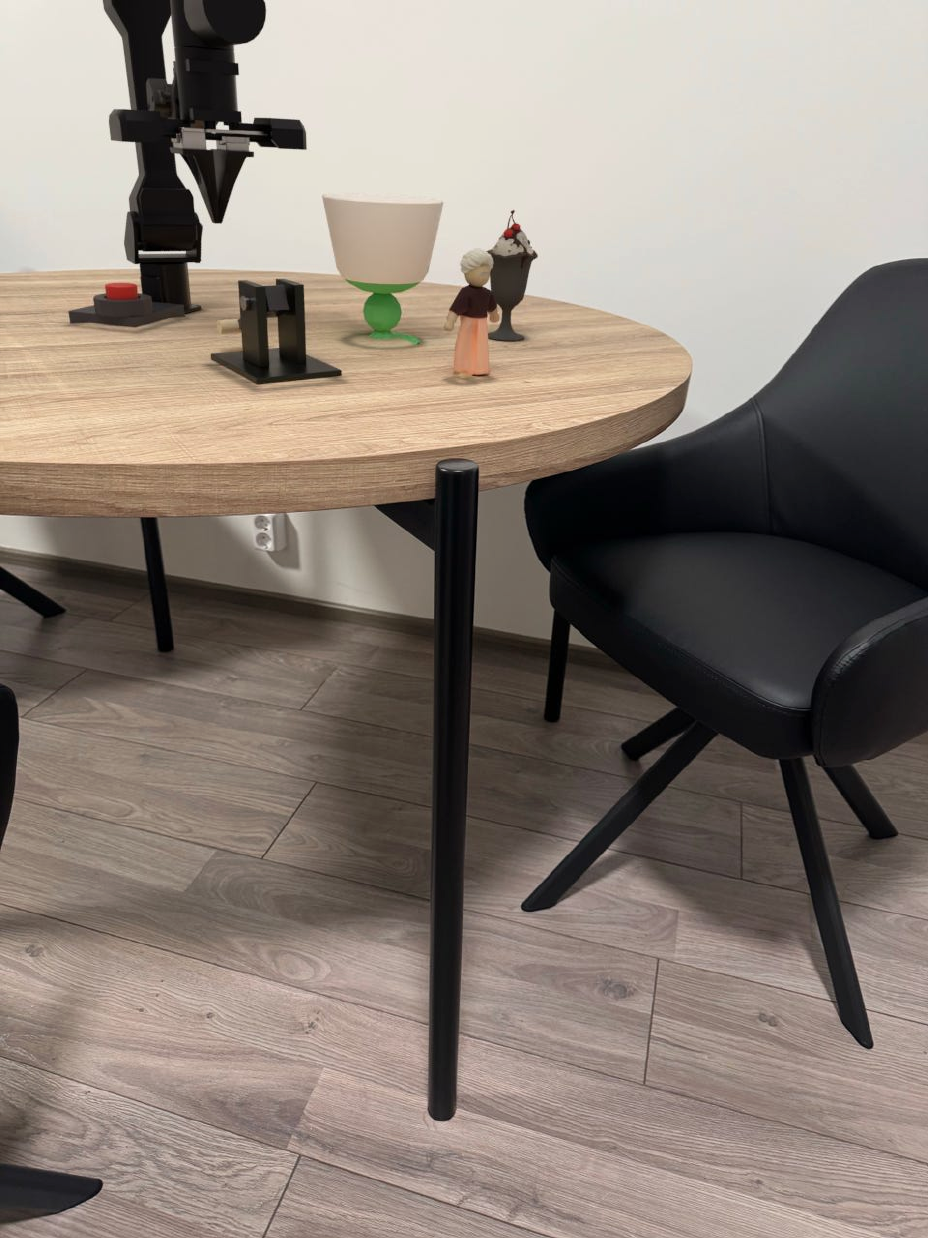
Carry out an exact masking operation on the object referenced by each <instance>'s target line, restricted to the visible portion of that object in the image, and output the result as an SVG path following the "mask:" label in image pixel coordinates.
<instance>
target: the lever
mask: <svg viewBox="0 0 928 1238" xmlns="http://www.w3.org/2000/svg"><path fill="white" fill-rule="evenodd" d="M264 286H265V291H266V310H267V319H271V318H273V319H274V318H278V317H280V316H281V315H283V314H284V313H285V312H287V311H288V310H289V305H288V300H287V295H286V291H285V286H284V285H276V284H274V285H264ZM216 330H217V333H218V334H219V335H229V334H230V335H231V334H233V335H234V334H241V319H240V317H239V318H229V319H218V320H217V321H216Z"/></svg>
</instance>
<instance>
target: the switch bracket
mask: <svg viewBox="0 0 928 1238" xmlns="http://www.w3.org/2000/svg"><path fill="white" fill-rule="evenodd" d="M275 285H284V286H285V291H286V295H287V300H288V305H289V310H288V311H287V312H285V313H284V314H283V315H281V316H280V317H277V336H278V347H273V348H269V331H268V318H267V310H266V291H265V286H266V285H262V284H259V283H256V282H253V281H251V280H248V279H239V280H238V281H237V287H238V302H239V318H240V319H241V333H240V334H241V345H242V346H241V348H242V350H237V351H236V350H235V351H225V352H223V351H222V352H213V353H210V360H211V361H212V362H215V363H216V364H219V365H221V366H222V367H224V368H226V369H228V370H230V371H231V372H234V373H235V374H237V375H239V376H241V377H242V378H244V379H246V380H248V381H249V382H251V383H253V384H255V385H258V386H259V385H269V384H277V383H288V382H299V381H305V380H317V379H318V380H319V379H327V378H328V379H329V378H335V377H342V375H343V373H342V371H343V370H342V369H340V368H338V367H335V366H333V365H331V364H329V363H327V362H324V361H322V360H319V359H318V358H315V357H313V356H311V355H309V354H307V340H306V338H307V337H306V310H305V309H306V307H305V285H304V284H303V283H300V282H297V281H294V280H290V279H287V278H275Z"/></svg>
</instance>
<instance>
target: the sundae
mask: <svg viewBox="0 0 928 1238" xmlns="http://www.w3.org/2000/svg"><path fill="white" fill-rule="evenodd" d="M514 213H516V210H514V209H513V210H510V216H509V218H508V221H507V227H506V229H504V231H503V232H502V233H501V235H500V237H498V240H497V241H496V243H495V244H494V246H493V247H492V248H491V249H488V250H485V251H486V252H488V254H490V255H491V256H492V258H493V268H492V269H491V271H490V278H489V283H490V290H491V291H492V293H493V295H494V297H495V299H496V302H497V306H499V307H500V309H501V319H500V324H499V326H498V327H497V328H496V330H494V331H491V332H488V339H490V340H494V341H501V342H518V341H523V340H524V339H525V336H524V335H523V334H520V333H518V332H516V331H515V330H514V329H513V326H512V311H513V310H514V308H516V307H517V306H519V304H520V303H521V302H522V301H523V300H524V298H525V293H526V289H527V286H528V280H529V276H530V275H529V274H530V270H531V268H532V267H531V266H532V262H533V261H535V260H536V259H538V257H539V255H538V253H537V252H536V250H534V249H533V247H532V246H531V240H530V239H528V237H527V235H526V233H525V232H524V231H523V230H522V229H521V224H520V223H517V222H516V221H515V220H514ZM511 219H512V222H513V224H511V226H510V222H511Z"/></svg>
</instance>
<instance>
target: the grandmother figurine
mask: <svg viewBox="0 0 928 1238" xmlns="http://www.w3.org/2000/svg"><path fill="white" fill-rule="evenodd" d="M486 251H487V250H485V249H482V248H479V247H477V248H473V249H470V250H469V251H468V252H466V253H465V254H463V255H462V257H461V260H460V263H459V266H460V267H461V268H460V272H461V273H463V275H464V280H465V282H466V283H467V285H466V286H463V287H461V288H460V290H459V292H458V293H457V295H456V296H455V298H454V300H453V302H452V304H451V305H450V307H449V309H448V313H447V316H446V321H444V323H443V329H444V331H446V332H452V331H453V330H454V327H455V324H456V323H457V321H458V319H459V321H460V325H459V328H458V332H457V337H456V340H455V345H454V352H453V353H454V354H453V363H452V364H453V366H452V370H453V371H454V372H453V375H454V376H455V377H457V378H463V379H465V378H466V379H467V378H472V376H473V375H476V376H477V375H478V376H479V375H486V374H489V373H490V365H491V364H490V363H491V361H490V344H489V338H488V333H489V328H488V327H489V326H488V316H489V321H490V322H491V323H493V324H495V323H497V322H499V321H500V320H501V319H500V318H501V317H500V314H499V313H498V311H499V310H498V304H497V302H496V299H495V297H494V295H493V293H492V291H491V289H490V288H487V287H486V286H485V285H486V284H487V283H488V282H489V281H490V271H491V269H492V268H493V258H492V256H491V255H490V254H488V252H486Z"/></svg>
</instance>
